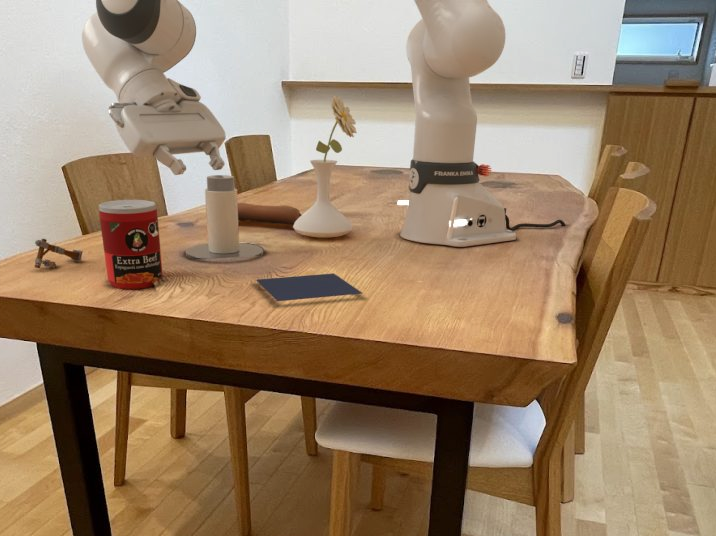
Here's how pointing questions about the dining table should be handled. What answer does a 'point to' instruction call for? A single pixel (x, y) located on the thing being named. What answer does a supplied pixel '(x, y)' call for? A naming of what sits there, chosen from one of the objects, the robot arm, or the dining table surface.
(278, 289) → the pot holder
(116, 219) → the canned food
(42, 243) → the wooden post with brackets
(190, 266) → the dining table surface
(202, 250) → the coaster
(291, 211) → the sunglasses case
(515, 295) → the dining table surface
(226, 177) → the shaker
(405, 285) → the dining table surface
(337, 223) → the flower in vase
